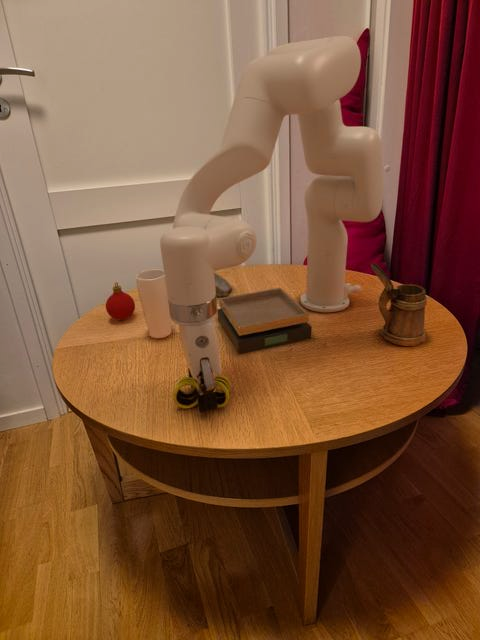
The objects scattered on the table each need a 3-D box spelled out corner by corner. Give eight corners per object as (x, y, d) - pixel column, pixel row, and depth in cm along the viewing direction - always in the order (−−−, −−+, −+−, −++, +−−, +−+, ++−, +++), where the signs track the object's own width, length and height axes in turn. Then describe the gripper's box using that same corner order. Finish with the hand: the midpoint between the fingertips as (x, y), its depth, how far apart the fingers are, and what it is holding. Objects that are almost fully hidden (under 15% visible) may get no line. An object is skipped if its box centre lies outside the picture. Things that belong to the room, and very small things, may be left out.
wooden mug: (355, 331, 92) (362, 255, 84) (411, 324, 94) (423, 249, 86) (372, 351, 85) (382, 270, 76) (433, 343, 86) (449, 262, 78)
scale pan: (280, 294, 103) (280, 287, 102) (308, 321, 89) (309, 313, 88) (219, 305, 99) (218, 298, 98) (239, 336, 85) (238, 327, 84)
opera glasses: (231, 395, 75) (229, 370, 74) (230, 409, 70) (228, 383, 69) (179, 397, 76) (176, 372, 74) (174, 411, 70) (171, 385, 69)
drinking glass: (169, 341, 92) (159, 280, 86) (141, 340, 94) (130, 279, 87) (178, 327, 98) (171, 269, 91) (152, 326, 100) (142, 268, 93)
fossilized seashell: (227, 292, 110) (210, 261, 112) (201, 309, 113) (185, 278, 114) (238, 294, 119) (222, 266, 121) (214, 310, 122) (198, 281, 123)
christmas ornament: (132, 324, 101) (125, 287, 96) (104, 325, 102) (96, 288, 97) (140, 312, 107) (133, 276, 103) (114, 312, 108) (106, 277, 103)
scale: (281, 307, 105) (281, 295, 104) (311, 338, 90) (312, 324, 89) (218, 320, 101) (217, 306, 99) (239, 354, 86) (238, 339, 85)
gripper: (231, 326, 58) (238, 422, 66) (203, 283, 73) (212, 367, 81) (179, 336, 56) (192, 434, 64) (162, 290, 71) (174, 375, 79)
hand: (203, 396), depth 73 cm, fingers closed on opera glasses, 6 cm apart
